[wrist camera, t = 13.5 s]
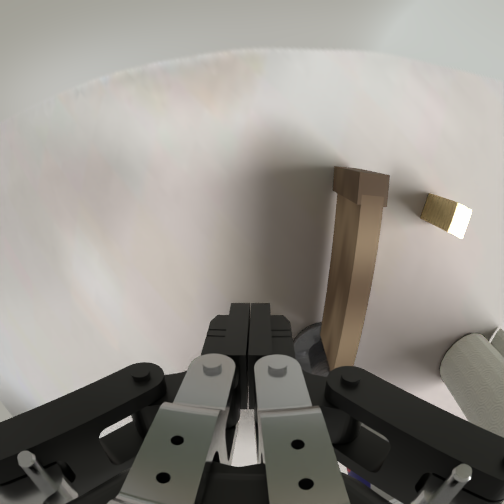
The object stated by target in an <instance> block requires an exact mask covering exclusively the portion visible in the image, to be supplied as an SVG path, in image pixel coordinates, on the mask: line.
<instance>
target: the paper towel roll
mask: <svg viewBox="0 0 504 504" xmlns="http://www.w3.org/2000/svg"><path fill="white" fill-rule="evenodd" d="M440 374H441V378H442V380H443V382H444V383H445V385H446V386H447V388H448V389H449V391H450V392H451V394H452V396H453V397H454V399H455V400H456V402H457V403H458V405H459V407H460V408H461V410H462V411H463V413H464V415H465V416H466V418H467V420H468V421H469V422H470V423H472V424H474V425H477V426H479V427H481V428H483V429H485V430H488V431H490V432H492V433H494V434H497V435H499V436H501V437H503V438H504V331H503V330H502V329H501V328H500V329H499V331H498V332H497V333H496V335H495V336H494V338H493V340H492V341H491V343H490V342H489V341H488V340H487V339H486V338H485V337H484V336H483V335H481V334H475V333H472V334H470V335H467V336H464V337H463V338H461V339H460V340H459V341H457V342H456V343H455V344H454V345H453V346H452V347H451V348H450V349H449V350H448V351H447V353H446V355H445V356H444V358H443V360H442V362H441V367H440Z"/></svg>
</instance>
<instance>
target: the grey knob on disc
mask: <svg viewBox="0 0 504 504" xmlns="http://www.w3.org/2000/svg"><path fill="white" fill-rule="evenodd" d="M321 326H322V323H317V324H313V325H311V326H309V327H307V328H305V329H304V330H302V331H301V332H300V333H299V334H298V335H297V336H296V338H295V339H294V341H293V344H294V351H295V357H296V360H297V361H298V363H299V364H300V366H301V369H303V370H304V371H306V372H308V373H310V374H314V375H318V376H324V377H327V376H328V374H329V373H330V372H331V371H330V367H329V364H328V360H327V357H326V353H325V350H324V346H323V343H322V339H321V336H320V332H321Z"/></svg>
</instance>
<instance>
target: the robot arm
mask: <svg viewBox="0 0 504 504" xmlns="http://www.w3.org/2000/svg"><path fill="white" fill-rule="evenodd" d="M248 385H249V409H254V428H255V441H256V453H257V464H255V465H249V466H244V467H234V466H231V463H232V458H233V452H234V447H235V442H236V437H237V432H238V420H239V418H240V409H247V403H248ZM130 415H131V416H132V419H133V421H132V422H130V423H128V424H126V425H124V426H123V427H121V428H119V429H117V430H115V431H113V432H111V433H109V434H108V435H106V436H104V437H102V438H99V435H100V433H101V432H102V431H103V430H104V429H105V428H107V427H109V426H111V425H113V424H115V423H117V422H119V421H120V420H122V419H124V418H126V417H128V416H130ZM362 423H363V424H365V425H366V426H368V427H370V428H371V429H373V430H374V431H376V432H378V433H379V434H381V435H383V436H384V437H386V438H387V440H388V441H389V442H388V441H386V440H385V439H383V438H381V437H380V436H378V435H376V434H375V433H373V432H371V431H370V430H368V429H366V428H365V427H363V426H361V424H362ZM337 461H338V462H340V463H341V464H343V465H344V466H345V467H347V468H348V469H350V470H351V471H353V472H354V473H356V474H357V475H359V476H360V477H362V478H363V479H365V480H366V481H368V482H369V483H371V484H372V485H374V486H375V487H377V488H378V489H380V490H382V491H383V492H385V493H386V494H388V495H390V496H391V497H393V498H395V499H396V500H398V501H400V502H401V503H403V504H501V503H502V502H503V501H504V438H503V437H501V436H499V435H497V434H494V433H492V432H490V431H488V430H485V429H483V428H481V427H479V426H477V425H474V424H472V423H470V422H468V421H466V420H464V419H461V418H459V417H457V416H455V415H453V414H451V413H449V412H447V411H445V410H443V409H441V408H438V407H436V406H434V405H432V404H430V403H428V402H426V401H424V400H422V399H420V398H418V397H416V396H414V395H412V394H410V393H408V392H406V391H404V390H402V389H400V388H398V387H396V386H395V385H393V384H391V383H389V382H387V381H385V380H383V379H381V378H379V377H377V376H375V375H373V374H372V373H370V372H368V371H366V370H364V369H362V368H359V367H355V366H342V367H338V368H335V369H333V370H332V371H331V372H330V373H329V374H328V376H327V377H324V376H318V375H314V374H310V373H308V372H306V371H304V370H303V369H301V366H300V364H299V363H298V361H297V360H296V357H295V351H294V344H293V338H292V332H291V326H290V322H289V321H288V320H287V319H286V318H285V317H284V316H283V315H270V303H251V318H250V303H231V307H230V313H229V315H217V316H216V317H215V318H214V319H213V320H212V321H211V322H210V325H209V329H208V332H207V337H206V339H205V343H204V346H203V350H202V353H201V356H199V357H197V358H196V359H194V360H193V361H192V362H191V364H190V366H189V368H188V370H187V371H185V372H182V373H177V374H169V375H164V372H163V370H162V368H160V367H159V366H158V365H156V364H153V363H146V362H143V363H136V364H132V365H130V366H128V367H126V368H124V369H121V370H119V371H117V372H115V373H113V374H111V375H109V376H107V377H104V378H102V379H100V380H98V381H96V382H94V383H91V384H89V385H87V386H85V387H83V388H80V389H78V390H76V391H74V392H71V393H69V394H67V395H65V396H62V397H60V398H58V399H55V400H53V401H51V402H49V403H46V404H44V405H42V406H39V407H37V408H34V409H32V410H30V411H27V412H25V413H22V414H20V415H18V416H15V417H13V418H10V419H8V420H5V421H3V422H0V504H392V503H391V502H389V501H388V500H386V499H385V498H383V497H382V496H380V495H379V494H378V493H376V492H375V491H373V490H372V489H370V488H369V487H368V486H366V485H365V484H363V483H362V482H360V481H359V480H357V479H355V478H353V477H352V476H349V475H347V474H345V473H342V472H340V468H339V465H338V462H337Z"/></svg>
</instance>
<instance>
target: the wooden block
mask: <svg viewBox="0 0 504 504" xmlns="http://www.w3.org/2000/svg"><path fill="white" fill-rule="evenodd" d="M389 178H390V175H385V174H381V173H376V172H372V171H367V170H362V169H357V168H347V167H337V166H334V181H333V191H335V192H336V193H337V204H336V215H335V225H334V235H333V245H332V253H331V262H330V270H329V278H328V285H327V292H326V300H325V306H324V313H323V320H322V326H321V332H320V336H321V339H322V343H323V346H324V350H325V353H326V357H327V360H328V364H329V367H330V371H332V370H333V369H335V368H338V367H342V366H353V365H354V361H355V358H356V354H357V350H358V346H359V341H360V337H361V333H362V329H363V324H364V320H365V315H366V310H367V305H368V300H369V295H370V290H371V285H372V279H373V273H374V268H375V262H376V255H377V249H378V242H379V235H380V228H381V220H382V211H383V207H387V199H388V189H389Z"/></svg>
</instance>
